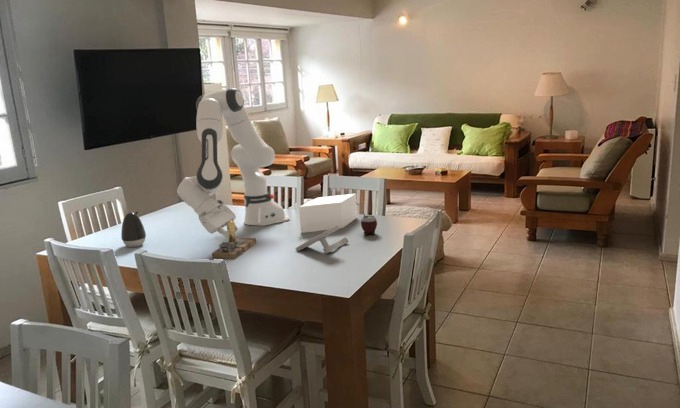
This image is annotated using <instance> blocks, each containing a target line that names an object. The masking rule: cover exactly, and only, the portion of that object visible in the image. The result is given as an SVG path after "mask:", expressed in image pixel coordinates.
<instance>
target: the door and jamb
mask: <svg viewBox="0 0 680 408" xmlns="http://www.w3.org/2000/svg"><path fill="white" fill-rule="evenodd" d="M235 238H236V241H238V243H237V244H236V245H235V246H234V242H228V241H223V242H221V243H220V244H219V245H218V246H219V248H217V249H216V250H214V251H213V252H211V259H228V260H229V259H233V260H234V259H237V258H238V257H240V255H242V254H243V253H244V252H246V251H247V250H248V249H250V248H251V247H253V246H254V245H255V244H256V243H257V239H256V238H255V237H253V238H252V237H235ZM223 247H228V251H224V250H223Z"/></svg>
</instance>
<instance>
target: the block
mask: <svg viewBox="0 0 680 408" xmlns="http://www.w3.org/2000/svg"><path fill="white" fill-rule="evenodd" d="M355 202H356V203H357V193H349V194H340V195H339V194H338V195H329V196H328V195H327V196H320V197H316V198H313V199H312V200H309V201H308V202H306V203H304V204H302V205H300V206H299V207H298V208H299V221H300V222H299V223H300V233H301V234H303V233H312V232H319V231H320V232H321V231H326V230H328V229H330V228H332V227H334V226H337V225H338V227H339V229H343V228H345V227H346V226H347V225H349V224H350V223H351V222H353V221H354V220H356V219H357V218H358V209H357V208H358V207H357V205H358V204H356V203H355Z"/></svg>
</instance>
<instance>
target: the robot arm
mask: <svg viewBox="0 0 680 408" xmlns="http://www.w3.org/2000/svg"><path fill="white" fill-rule="evenodd" d="M244 99H245V98H244V95H243V93H242V92H241V91H240V90H239V89H238V88H236V87H228V88H226V89H225V88H223V89H218V90H215V91H212V92H209V93H207V94H202V95H200V96H198V98H197V100H196V102H195V108H196V119H195V120H196V127H195V128H196V134H197V138H198V140H199V141H200V143H201V162H200V164H199V167H198V169H197V171H196V175H194V176H190V177H189V176H186V177H184V178H183V179H182V180H181V181H180V182H179V184H178V185H177V188H176V191H177V195H178V196H179V197H180V198H181V200H182V201H183V202H184V203H185V204H186V205H187V206H189V207H190V208H192V209H193V211H194V212H195V214H196V215H197V216H198V220H199V221H200V223H201V225H202V226H203V228H204V229H205V230H206V231H207V232H208V233H210V234H212V235H213V234H214V233H216V232H218V233H219V234H220V235H223V236H224V237H225V238H228V236H229V235H230V233H229V232H228V231H227V230H225V229H224V227H227V221H235V219H236V218H237V217H236V213H234V212H233V211H232V209H231V208H229V207H228V206H227V205H225V202H224V201H223V200H221V199H214V198H213V197H212V196H213V195H215V194H217V193H218V192H219V191H220V190H221V189H222V184H223V170H221V167H220V165H219V162H218V144H219V142H220V141H221V140H222V136H223V129H224V128H223V127H224V125H223V124H224V123H223V119H224V122H225V124H226V126H227V129H228V131H229V134H230V136H231V138H232V139H233V140H234V141H235V142H236V143H237V144H235V145H234V146H233V148H231V151H230V157H231V159H232V161H233V163H234V164H235V165H236V166H237V167H238V170H239V172H240V174H241V177H242V181H243V190H244V195H243V201H244V206H245V215H244V220H243V224H244V225H248V226H260V227H265V226H268V225H273V224H279V223H284V222H287V221H288V222H289V220H290V216H289V215H287V214H285V211H284V207H283V206H282V205H280V204H279V203H277V202H276V201H275V200H273V199H274V198H275V194H272V193H269V192H268V186H267V178H266V176H265V174H264V173H262V171H261V169H260V168H265V167H269V166H271V165H272V164H273V163H274V162H275V160H276V152H275V150H274V149H273V147H272V146H269V144H267V143H266V142H265V141H264V140H263V139H262V138H261V136H260V135H259V134H258V132H257V131H256V129H255V127H254V125H253V123H252V121H251V119H250V115H249V114H248V111H247V109H246V108H245V106H244V105H245V104H244V103H245V100H244ZM234 228H235V233H236V232H237V231H238V230H239V227H238V226H236V223H235V222H234Z"/></svg>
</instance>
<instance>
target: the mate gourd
mask: <svg viewBox="0 0 680 408" xmlns="http://www.w3.org/2000/svg"><path fill="white" fill-rule="evenodd" d="M355 203H356V205H358V206H359V208H360V209H361V212H362V214H363V215H362V218H361V221H360V225H361V228H362V230H363V234H364V235H363V236H364V237H367V236H376V233H375V232H376V229H377V226H378V221H377V217H375V216H374V215H371V214H370V215H366V214H365V211H364V209H363V207H362V205H361V204H360V203H358V202H357V201H356V202H355Z"/></svg>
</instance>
